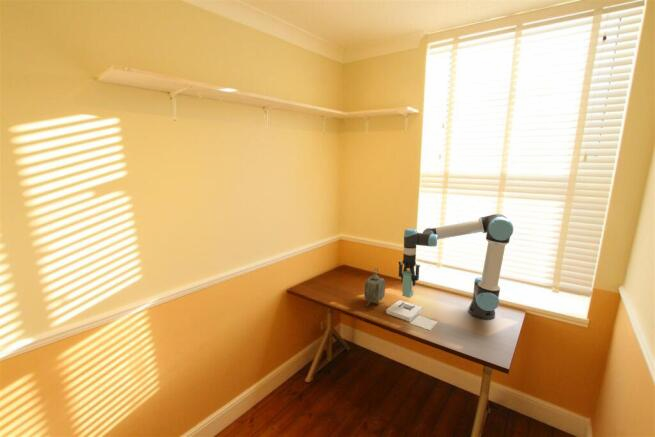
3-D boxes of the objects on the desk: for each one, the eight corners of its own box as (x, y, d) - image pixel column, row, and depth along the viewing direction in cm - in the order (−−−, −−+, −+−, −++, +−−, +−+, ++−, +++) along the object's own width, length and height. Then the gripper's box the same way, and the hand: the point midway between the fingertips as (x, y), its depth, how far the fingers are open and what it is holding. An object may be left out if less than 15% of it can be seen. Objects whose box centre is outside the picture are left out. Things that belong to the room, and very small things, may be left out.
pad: (437, 322, 187) (437, 321, 187) (429, 330, 178) (429, 330, 178) (418, 316, 195) (418, 315, 195) (410, 323, 186) (410, 323, 186)
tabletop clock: (372, 298, 218) (373, 264, 213) (384, 301, 214) (386, 266, 209) (363, 306, 206) (365, 270, 201) (376, 310, 201) (378, 273, 197)
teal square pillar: (413, 295, 200) (414, 271, 197) (409, 298, 196) (411, 273, 193) (405, 293, 204) (406, 269, 201) (401, 295, 200) (402, 271, 197)
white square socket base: (422, 310, 201) (422, 306, 201) (410, 321, 188) (410, 316, 187) (399, 303, 211) (399, 299, 211) (386, 313, 198) (386, 308, 197)
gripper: (426, 254, 192) (424, 290, 196) (399, 249, 203) (397, 283, 208) (421, 257, 186) (419, 294, 191) (393, 252, 198) (392, 287, 202)
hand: (408, 289), depth 199 cm, fingers closed on teal square pillar, 5 cm apart
